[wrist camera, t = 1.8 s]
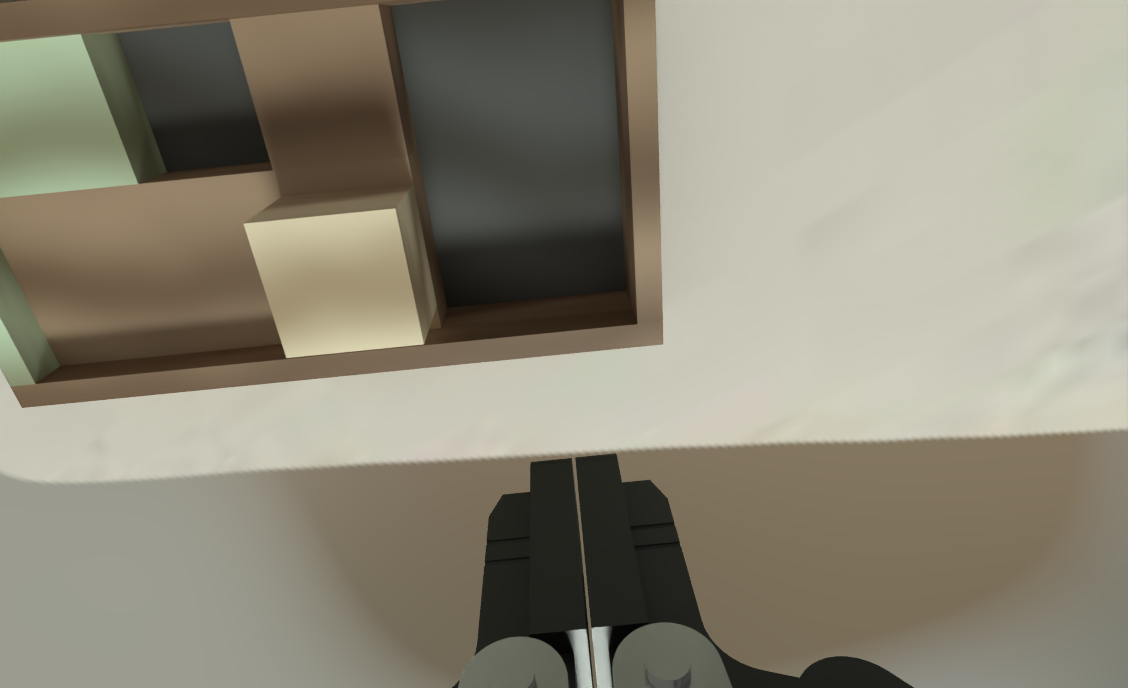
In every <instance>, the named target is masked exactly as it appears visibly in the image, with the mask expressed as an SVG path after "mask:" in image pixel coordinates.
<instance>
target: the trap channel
mask: <svg viewBox="0 0 1128 688" xmlns="http://www.w3.org/2000/svg"><path fill="white" fill-rule="evenodd" d="M410 184H413V186H414V191H415V196H416V201H417V206H418V211H419V217H420V222H421V227H422V232H423V237H424V242H425V247H426V253H427V258H428V263H429V268H430V273H431V278H432V283H433V289H434V294H435V299H436V304H437V307H436V310H435V313H434V316H433V319H432V322H431V325H430V328H429V331H428V334H427V337H426V340H425V343H424V344H423V345H413V346H403V347H393V348H383V349H373V350H363V351H353V352H343V353H333V354H323V355H312V356H302V357H292V358H286V355H285V352H284V349H283V346H282V343H281V339H280V336H279V333H278V330H277V327H276V324H275V321H274V318H273V314H272V311H271V308H270V305H269V302H268V299H267V296H266V293H265V290H264V286H263V283H262V280H261V277H260V274H259V271H258V268H257V265H256V262H255V258H254V255H253V252H252V249H251V246H250V243H249V240H248V237H247V233H246V230H245V227H244V223H245V222H246V221H248V220H249V219H251V218H252V217H254V216H255V215H256V214H258V213H259V212H261V211H262V210H264V209H265V208H266V207H268V206H269V205H271V204H272V203H273V202H275V201H276V200H278V199H279V198H281V197H290V196H300V195H310V194H320V193H330V192H340V191H350V190H360V189H370V188H380V187H390V186H400V185H410ZM661 344H663V314H662V272H661V230H660V187H659V145H658V103H657V61H656V18H655V0H25V1H15V2H5V3H0V369H1V370H2V372H3V374H4V376H5V378H6V379H7V381H8V383H9V385H10V387H11V389H12V390H13V392H14V394H15V396H16V398H17V399H18V401H19V403H20V405H21V407H22V408H25V407H35V406H45V405H56V404H66V403H76V402H86V401H96V400H106V399H116V398H126V397H136V396H146V395H156V394H166V393H177V392H187V391H197V390H207V389H217V388H227V387H237V386H247V385H257V384H267V383H277V382H287V381H298V380H308V379H318V378H328V377H338V376H348V375H358V374H368V373H378V372H388V371H398V370H408V369H419V368H429V367H439V366H449V365H459V364H469V363H479V362H489V361H499V360H509V359H519V358H529V357H540V356H550V355H560V354H570V353H580V352H590V351H600V350H610V349H620V348H630V347H640V346H650V345H661Z"/></svg>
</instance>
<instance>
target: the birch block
mask: <svg viewBox="0 0 1128 688" xmlns="http://www.w3.org/2000/svg"><path fill="white" fill-rule="evenodd" d="M244 227H245V230H246V233H247V237H248V240H249V243H250V246H251V249H252V252H253V255H254V258H255V262H256V265H257V268H258V271H259V274H260V277H261V280H262V283H263V286H264V290H265V293H266V296H267V299H268V302H269V305H270V308H271V311H272V314H273V318H274V321H275V324H276V327H277V330H278V333H279V336H280V339H281V343H282V346H283V349H284V352H285V355H286V358H292V357H302V356H312V355H323V354H333V353H343V352H353V351H363V350H373V349H383V348H393V347H403V346H413V345H423V344H424V343H425V340H426V337H427V334H428V331H429V328H430V325H431V322H432V319H433V316H434V313H435V310H436V307H437V304H436V299H435V294H434V289H433V283H432V278H431V273H430V268H429V263H428V258H427V253H426V247H425V242H424V237H423V232H422V227H421V222H420V217H419V211H418V206H417V201H416V196H415V191H414V186H413V184H410V185H400V186H390V187H380V188H370V189H360V190H350V191H340V192H330V193H320V194H310V195H300V196H290V197H281V198H279V199H278V200H276V201H275V202H273V203H272V204H271V205H269V206H268V207H266V208H265V209H264V210H262V211H261V212H259V213H258V214H256V215H255V216H254V217H252V218H251V219H249V220H248V221H246V222H245V223H244Z"/></svg>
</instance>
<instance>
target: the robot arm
mask: <svg viewBox="0 0 1128 688" xmlns="http://www.w3.org/2000/svg"><path fill="white" fill-rule="evenodd" d="M575 459H576V469H577V479H578V491H579V501H580V512H581V522H582V533H583V543H584V554H585V564H586V575H587V586H588V596H589V607H590V617H591V628H592V637H593V647H594V657H595V667H596V676H597V685H598V688H913V687H912V686H910V685H909V684H907V683H906V682H904V681H902V680H901V679H900V678H898V677H896V676H895V675H893V674H892V673H890V672H889V671H887V670H885V669H883V668H882V667H880V666H878V665H876V664H873V663H871V662H868V661H865V660H862V659H859V658H853V657H843V656H836V657H829V658H825V659H822V660H819V661H817V662H815V663H813V664H812V665H810V666H809V667H808V668H807V669H806V670H805V671H804V672H803V674H802V675H801V677H800V678H798V677H793V676H787V675H783V674H778V673H773V672H768V671H764V670H759V669H756V668H752V667H750V666H747V665H745V664H742V663H740V662H738V661H736V660H735V659H733V658H731V657H730V656H728V655H727V654H726V653H724V652H723V651H722V650H721V649H720V648H719V647H718V646H717V645H716V644H715V643H714V642H713V641H712V639H711V638H710V637H709V635H708V633H707V632H706V630H705V628H704V625H703V623H702V620H701V616H700V613H699V609H698V606H697V602H696V598H695V595H694V592H693V588H692V585H691V581H690V577H689V573H688V570H687V566H686V563H685V559H684V556H683V552H682V548H681V547H680V541H679V538H678V534H677V531H676V527H675V525H674V520H673V516H672V513H671V509H670V506H669V502H668V499H667V498H666V497H665V495H664V494H662V492H661V491H660V490H659V489H658V488H657V487H656V486H655V485H654V484H653V483H652V482H651V481H650V480H644V481H634V482H624V483H622V481H621V475H620V470H619V466H618V460H617V455H616V454H606V455H596V456H586V457H576V458H575ZM452 688H594V686H593V675H592V664H591V653H590V641H589V631H588V619H587V608H586V597H585V586H584V574H583V564H582V553H581V542H580V532H579V522H578V513H577V503H576V494H575V484H574V476H573V466H572V458H568V459H558V460H548V461H538V462H531V467H530V492H525V493H515V494H505V495H502V497H501V499H500V500H499V502H498V503H497V505H496V506H495V508H494V509H493V511H492V513H491V514H490V516H489V522H488V532H487V546H486V554H485V566H484V576H483V587H482V598H481V609H480V620H479V630H478V642H477V648H476V653H475V656H474V657H473V658H472V660H470V662H469V663H468V665H467V666H466V668H465V669H464V671H463V674H462V676H461V678H460V680H459V681H458V683H457V684H456V685H455V686H453V687H452Z"/></svg>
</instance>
